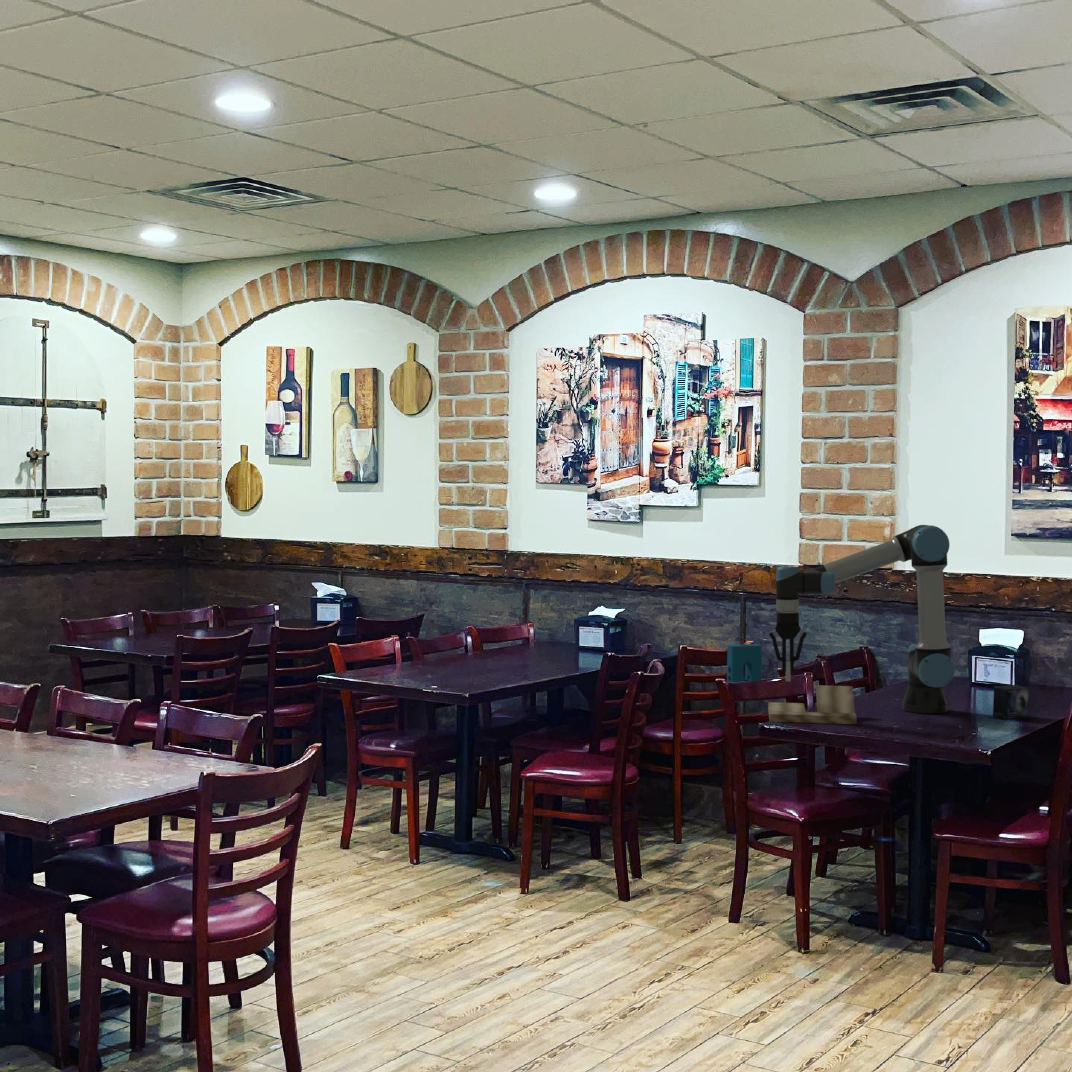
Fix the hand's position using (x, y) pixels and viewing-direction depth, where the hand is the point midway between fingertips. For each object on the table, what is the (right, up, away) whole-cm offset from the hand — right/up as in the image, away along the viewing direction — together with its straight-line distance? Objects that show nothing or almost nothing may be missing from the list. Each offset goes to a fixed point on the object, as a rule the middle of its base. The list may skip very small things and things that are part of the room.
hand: (788, 680), depth 462 cm
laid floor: (+6, -12, -14) cm, 19 cm away
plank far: (-1, -11, -3) cm, 11 cm away
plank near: (+15, -7, -5) cm, 17 cm away
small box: (+75, -12, -3) cm, 76 cm away
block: (-11, -10, +28) cm, 32 cm away
